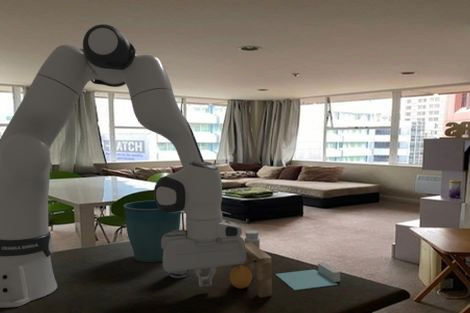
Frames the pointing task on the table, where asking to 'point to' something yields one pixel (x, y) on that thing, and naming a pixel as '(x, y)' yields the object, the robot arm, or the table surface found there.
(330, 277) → the wall
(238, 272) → the ball
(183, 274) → the energy drink
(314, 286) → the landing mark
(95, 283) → the table surface
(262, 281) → the bridge
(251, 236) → the supplement bottle
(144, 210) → the flower pot
